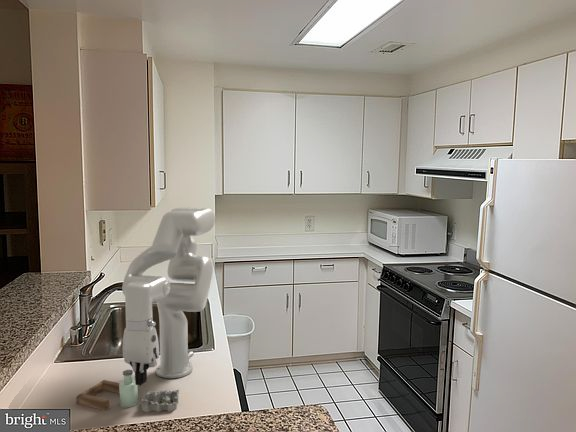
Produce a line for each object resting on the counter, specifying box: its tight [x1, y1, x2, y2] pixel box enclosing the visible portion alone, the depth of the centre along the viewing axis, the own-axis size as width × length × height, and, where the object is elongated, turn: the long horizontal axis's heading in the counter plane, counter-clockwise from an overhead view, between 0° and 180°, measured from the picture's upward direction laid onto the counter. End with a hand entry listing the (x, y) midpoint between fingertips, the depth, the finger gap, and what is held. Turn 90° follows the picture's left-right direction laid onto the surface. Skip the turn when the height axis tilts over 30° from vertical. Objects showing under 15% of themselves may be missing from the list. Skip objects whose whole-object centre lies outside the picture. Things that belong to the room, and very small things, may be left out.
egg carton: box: [140, 389, 180, 413], centre depth 135 cm, size 11×8×4 cm
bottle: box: [118, 369, 139, 409], centre depth 136 cm, size 5×5×10 cm
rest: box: [76, 379, 120, 411], centre depth 140 cm, size 12×11×2 cm
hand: (141, 383), depth 135 cm, fingers closed
